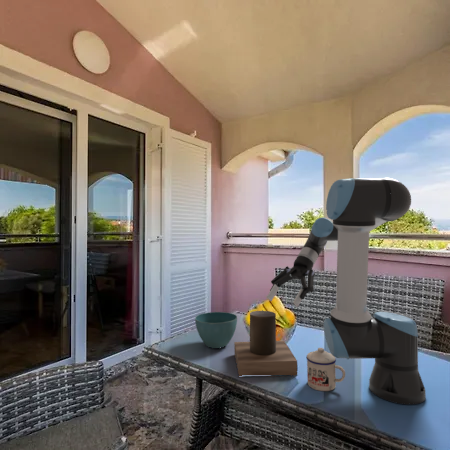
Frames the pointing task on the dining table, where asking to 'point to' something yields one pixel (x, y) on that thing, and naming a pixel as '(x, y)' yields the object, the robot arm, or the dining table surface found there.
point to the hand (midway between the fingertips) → (281, 301)
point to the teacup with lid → (322, 370)
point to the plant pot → (216, 328)
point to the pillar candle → (263, 332)
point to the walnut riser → (265, 360)
